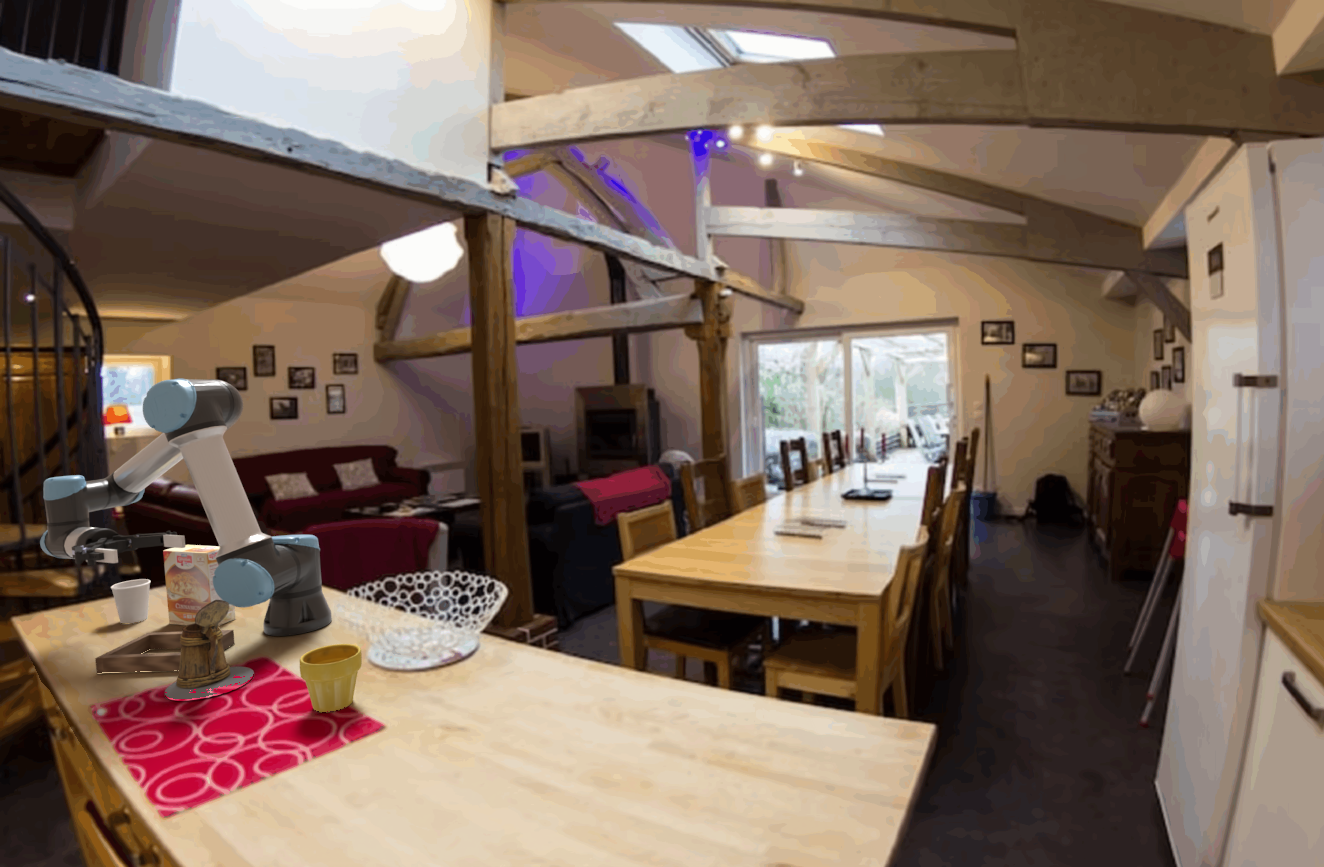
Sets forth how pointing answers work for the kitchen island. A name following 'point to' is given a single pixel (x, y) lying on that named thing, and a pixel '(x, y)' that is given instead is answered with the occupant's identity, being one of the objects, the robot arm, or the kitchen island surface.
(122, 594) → the dixie cup
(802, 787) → the kitchen island surface
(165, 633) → the frame
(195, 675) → the wooden mug
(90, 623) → the kitchen island surface
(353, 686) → the plant pot
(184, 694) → the grey mat
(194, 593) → the coffeecake box
